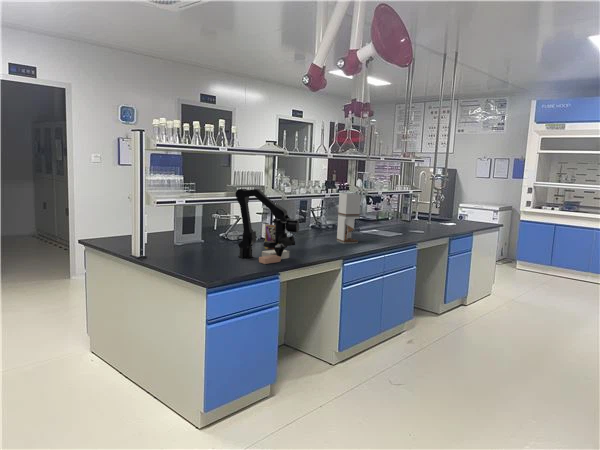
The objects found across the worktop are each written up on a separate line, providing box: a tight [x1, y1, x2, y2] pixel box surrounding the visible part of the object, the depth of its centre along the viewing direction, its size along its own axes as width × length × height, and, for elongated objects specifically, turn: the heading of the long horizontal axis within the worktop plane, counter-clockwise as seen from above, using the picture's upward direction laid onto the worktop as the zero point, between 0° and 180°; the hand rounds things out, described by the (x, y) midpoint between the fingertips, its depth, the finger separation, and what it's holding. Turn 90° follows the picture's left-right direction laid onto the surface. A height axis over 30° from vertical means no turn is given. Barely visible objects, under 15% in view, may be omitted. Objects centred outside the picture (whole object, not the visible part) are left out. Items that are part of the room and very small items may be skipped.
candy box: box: [264, 224, 279, 250], centre depth 284 cm, size 9×4×15 cm, turn 96°
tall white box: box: [336, 192, 362, 245], centre depth 319 cm, size 11×11×35 cm
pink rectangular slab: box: [258, 255, 282, 265], centre depth 245 cm, size 11×5×3 cm, turn 132°
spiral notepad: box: [261, 249, 290, 260], centre depth 257 cm, size 14×8×4 cm, turn 132°
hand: (279, 258), depth 250 cm, fingers closed
